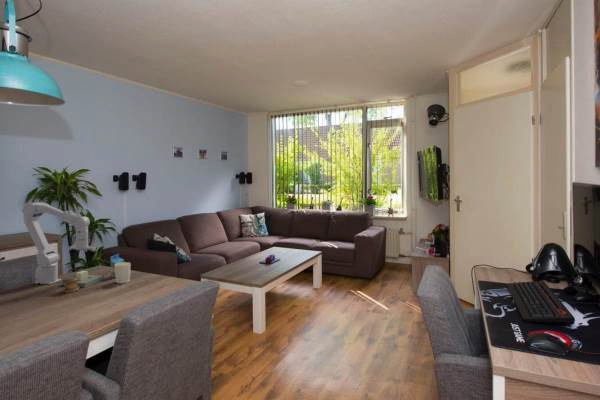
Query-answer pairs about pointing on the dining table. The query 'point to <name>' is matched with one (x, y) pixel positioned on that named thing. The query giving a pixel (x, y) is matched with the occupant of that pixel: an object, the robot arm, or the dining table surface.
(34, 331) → the dining table surface
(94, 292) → the dining table surface
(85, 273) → the tab block
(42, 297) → the dining table surface
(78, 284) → the notched board
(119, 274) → the white cup
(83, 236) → the robot arm
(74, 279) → the wooden knob
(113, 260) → the label tape box
